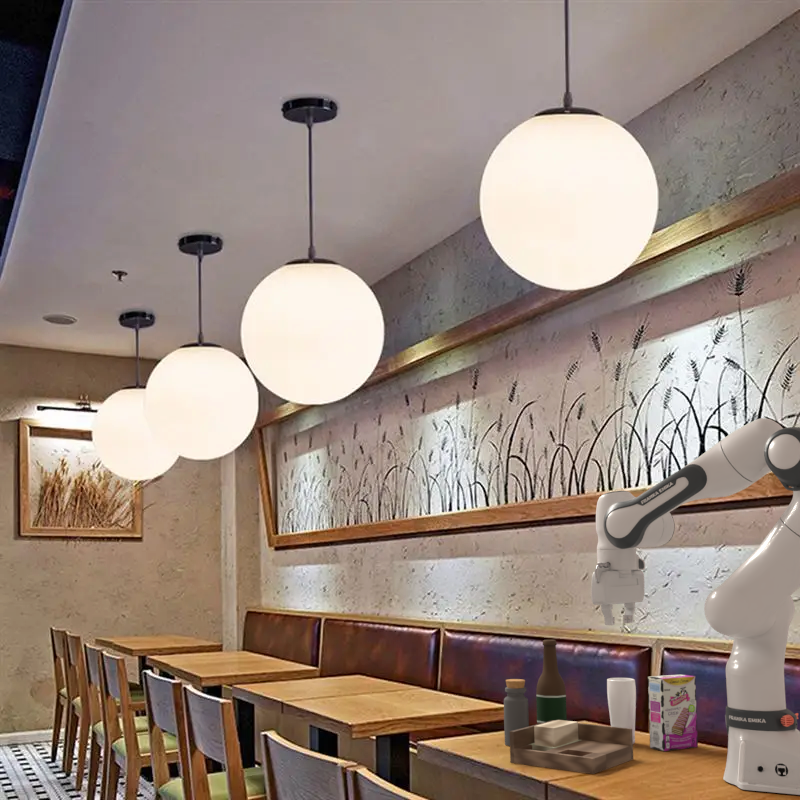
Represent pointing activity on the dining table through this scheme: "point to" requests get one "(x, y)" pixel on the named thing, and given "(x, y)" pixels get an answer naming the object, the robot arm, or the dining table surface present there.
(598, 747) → the brown compartment tray
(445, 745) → the dining table surface
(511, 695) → the bottle
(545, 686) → the beer bottle
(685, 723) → the candy bar box
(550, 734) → the cream rectangular block
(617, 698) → the drinking glass
